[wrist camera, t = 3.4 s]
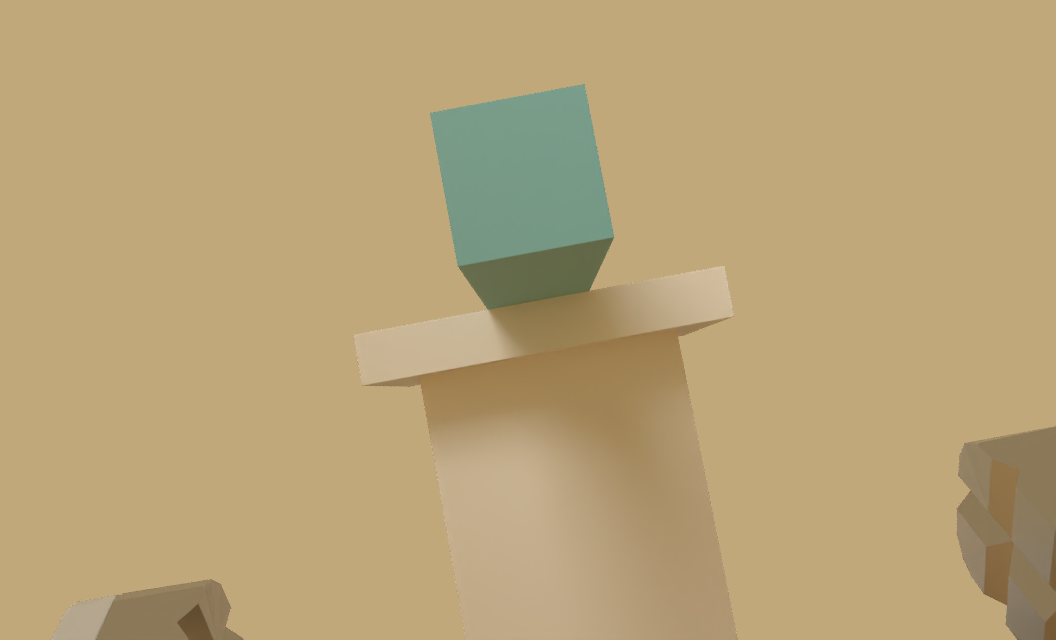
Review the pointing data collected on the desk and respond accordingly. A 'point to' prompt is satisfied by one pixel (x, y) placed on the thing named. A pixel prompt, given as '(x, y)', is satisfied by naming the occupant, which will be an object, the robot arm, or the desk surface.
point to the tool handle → (524, 195)
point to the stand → (571, 461)
